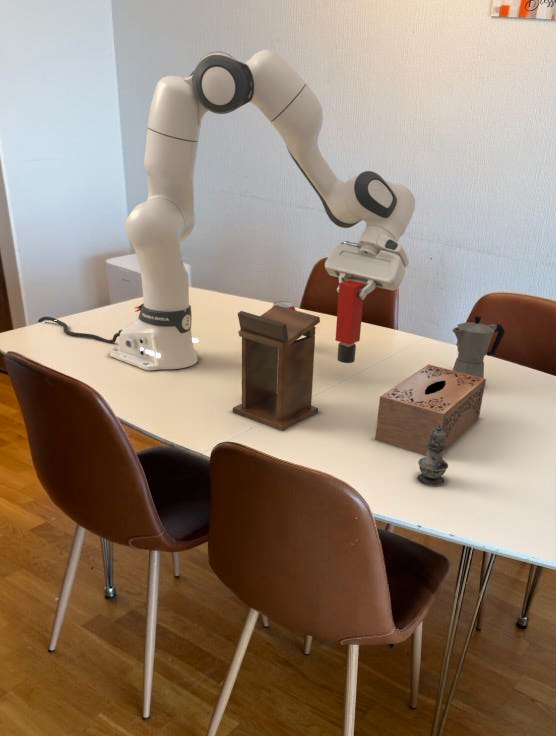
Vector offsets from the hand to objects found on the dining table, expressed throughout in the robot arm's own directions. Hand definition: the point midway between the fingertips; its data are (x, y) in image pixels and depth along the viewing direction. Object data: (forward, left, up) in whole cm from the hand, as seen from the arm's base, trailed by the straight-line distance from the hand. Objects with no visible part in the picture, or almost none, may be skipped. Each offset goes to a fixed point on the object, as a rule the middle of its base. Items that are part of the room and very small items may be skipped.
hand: (349, 295), depth 171 cm
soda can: (-26, +15, -22) cm, 37 cm away
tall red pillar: (+1, +5, -8) cm, 9 cm away
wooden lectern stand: (-5, -26, -22) cm, 35 cm away
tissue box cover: (+28, -15, -22) cm, 39 cm away
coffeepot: (+28, +19, -22) cm, 41 cm away
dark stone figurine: (+36, -38, -22) cm, 57 cm away
